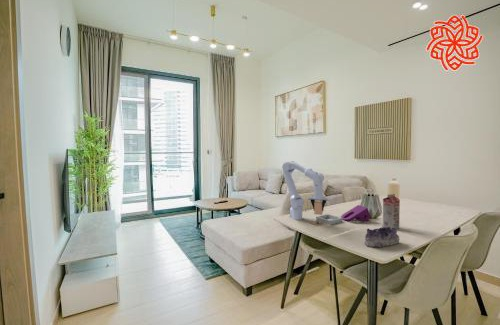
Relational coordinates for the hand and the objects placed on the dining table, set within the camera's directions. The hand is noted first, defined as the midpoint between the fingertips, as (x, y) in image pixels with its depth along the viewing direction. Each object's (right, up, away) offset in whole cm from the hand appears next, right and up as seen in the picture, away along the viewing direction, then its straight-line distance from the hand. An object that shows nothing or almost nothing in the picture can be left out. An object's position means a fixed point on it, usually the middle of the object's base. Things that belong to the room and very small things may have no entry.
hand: (318, 210), depth 163 cm
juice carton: (+45, -10, -8) cm, 47 cm away
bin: (+9, -9, +6) cm, 14 cm away
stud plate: (0, -10, 0) cm, 10 cm away
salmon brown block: (0, -2, 0) cm, 2 cm away
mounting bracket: (+28, -9, +9) cm, 31 cm away
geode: (+25, -12, -33) cm, 43 cm away
